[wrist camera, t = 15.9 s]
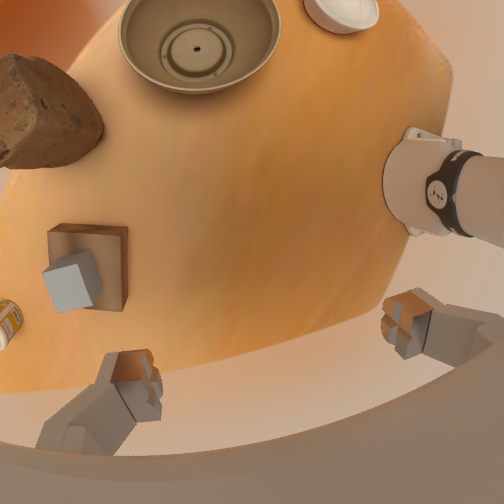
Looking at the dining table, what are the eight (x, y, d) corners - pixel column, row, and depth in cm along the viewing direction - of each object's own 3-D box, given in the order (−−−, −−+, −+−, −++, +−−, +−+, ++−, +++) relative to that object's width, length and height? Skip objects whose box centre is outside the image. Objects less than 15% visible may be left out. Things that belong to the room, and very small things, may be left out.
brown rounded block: (114, 139, 33) (46, 122, 14) (69, 171, 32) (-22, 187, 14) (82, 75, 29) (10, 20, 10) (39, 108, 28) (-52, 84, 10)
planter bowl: (128, 20, 27) (113, -19, 17) (244, 1, 30) (264, -40, 20) (144, 123, 33) (127, 109, 23) (266, 98, 35) (296, 78, 25)
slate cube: (90, 249, 32) (77, 263, 27) (102, 287, 33) (92, 305, 29) (57, 258, 31) (41, 273, 26) (70, 294, 32) (57, 313, 28)
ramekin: (373, 33, 34) (392, 24, 30) (320, 47, 34) (337, 35, 29) (339, -19, 30) (354, -32, 25) (284, -10, 30) (296, -27, 25)
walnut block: (128, 226, 37) (120, 235, 32) (128, 295, 39) (122, 312, 35) (61, 222, 34) (47, 231, 30) (66, 289, 37) (54, 305, 32)
